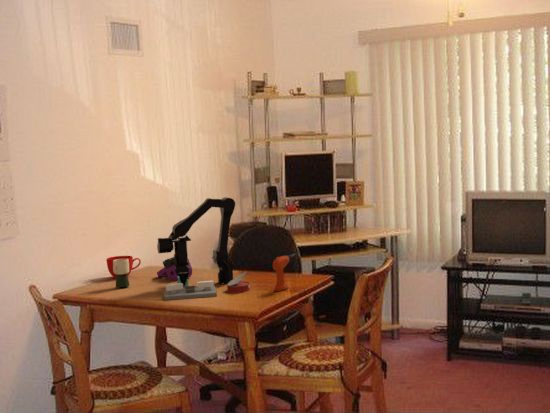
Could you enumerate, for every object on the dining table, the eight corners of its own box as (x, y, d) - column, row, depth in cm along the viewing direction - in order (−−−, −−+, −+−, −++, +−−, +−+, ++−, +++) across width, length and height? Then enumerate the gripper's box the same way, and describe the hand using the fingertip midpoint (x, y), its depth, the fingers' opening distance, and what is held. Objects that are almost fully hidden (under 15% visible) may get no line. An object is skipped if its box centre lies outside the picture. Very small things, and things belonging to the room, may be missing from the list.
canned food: (244, 303, 311) (238, 285, 306) (225, 298, 317) (219, 281, 311) (257, 286, 319) (252, 268, 314) (238, 282, 324) (233, 265, 319)
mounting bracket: (158, 290, 354) (179, 277, 343) (153, 274, 356) (173, 261, 345) (173, 287, 361) (194, 274, 350) (168, 271, 363) (188, 258, 352)
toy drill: (302, 279, 324) (299, 247, 321) (282, 293, 308) (278, 260, 305) (293, 279, 326) (289, 247, 323) (272, 292, 311) (268, 259, 308)
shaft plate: (214, 288, 321) (214, 277, 321) (216, 296, 305) (216, 284, 305) (165, 292, 318) (164, 281, 318) (164, 300, 303) (163, 288, 302)
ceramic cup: (144, 276, 360) (142, 257, 360) (110, 281, 354) (108, 260, 353) (138, 273, 372) (137, 254, 371) (105, 277, 366) (104, 257, 365)
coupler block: (188, 286, 331) (188, 275, 330) (188, 288, 327) (188, 277, 326) (177, 287, 330) (177, 276, 330) (177, 288, 326) (177, 277, 326)
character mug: (124, 284, 342) (122, 257, 341) (136, 285, 339) (134, 258, 338) (108, 289, 332) (106, 261, 331) (121, 290, 329) (119, 262, 328)
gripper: (163, 249, 335) (165, 282, 336) (162, 255, 317) (164, 290, 318) (187, 247, 336) (189, 280, 338) (188, 253, 318) (190, 288, 319)
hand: (183, 285), depth 328 cm, fingers open, 9 cm apart
